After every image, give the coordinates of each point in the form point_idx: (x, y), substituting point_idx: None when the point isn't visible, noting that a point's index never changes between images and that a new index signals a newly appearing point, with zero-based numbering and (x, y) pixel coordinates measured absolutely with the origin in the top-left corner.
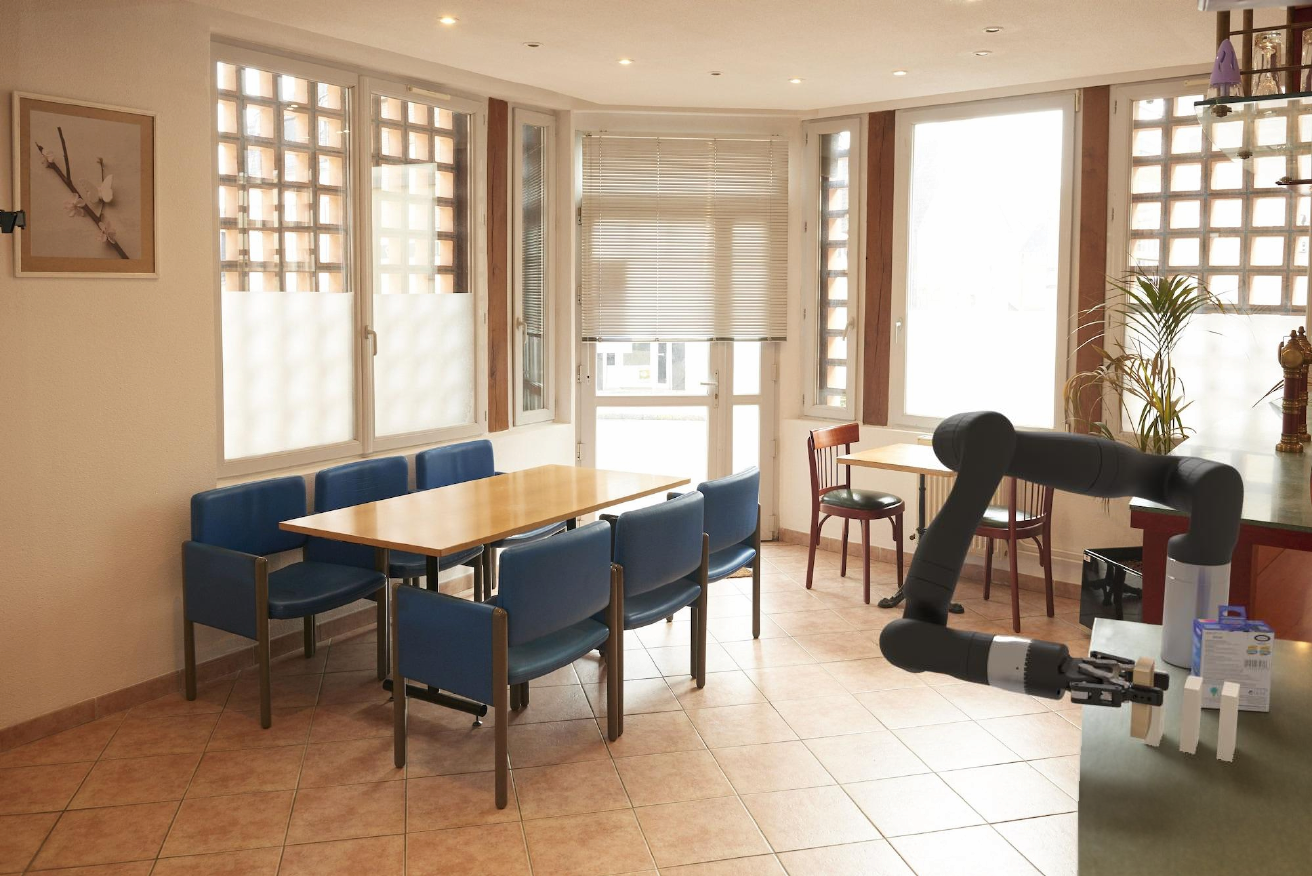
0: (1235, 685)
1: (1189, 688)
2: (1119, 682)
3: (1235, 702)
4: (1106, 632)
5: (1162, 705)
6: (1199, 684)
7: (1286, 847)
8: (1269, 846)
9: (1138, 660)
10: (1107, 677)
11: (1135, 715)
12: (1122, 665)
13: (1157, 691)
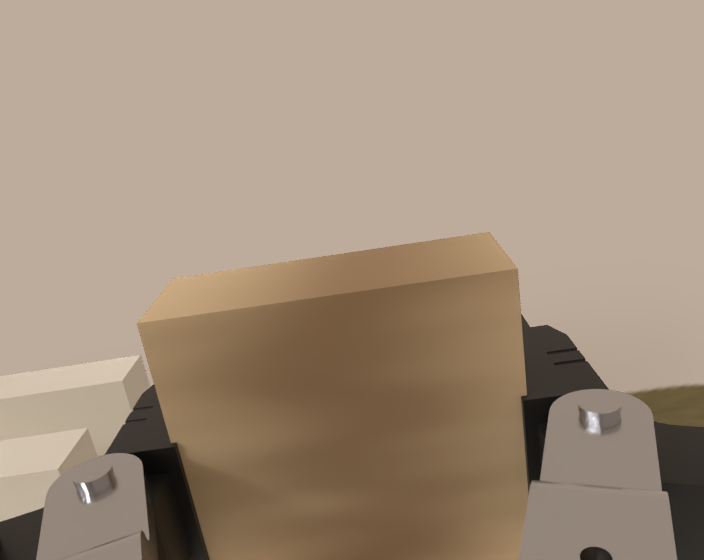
0: (10, 379)
1: (67, 453)
2: (615, 442)
3: (146, 377)
4: None
5: None
6: (5, 442)
7: (666, 404)
8: (701, 421)
9: (244, 305)
10: (663, 501)
11: None
12: (78, 546)
13: None
